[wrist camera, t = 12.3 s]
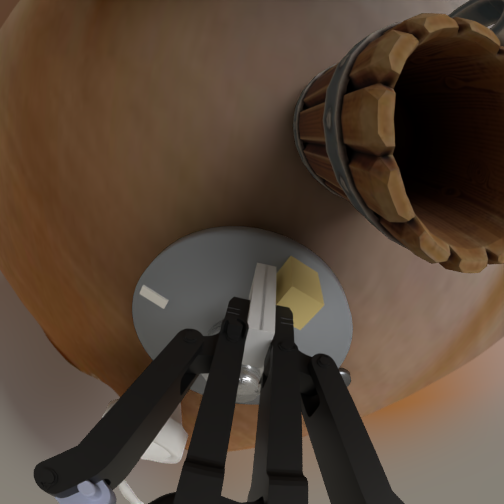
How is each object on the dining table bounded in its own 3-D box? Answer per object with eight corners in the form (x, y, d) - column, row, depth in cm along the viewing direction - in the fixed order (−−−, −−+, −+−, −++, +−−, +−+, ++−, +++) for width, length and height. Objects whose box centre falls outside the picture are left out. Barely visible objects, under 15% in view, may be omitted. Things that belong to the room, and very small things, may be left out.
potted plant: (116, 384, 36) (56, 508, 13) (139, 354, 31) (60, 520, 9) (182, 422, 38) (144, 547, 16) (219, 401, 34) (181, 563, 11)
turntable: (193, 176, 19) (160, 196, 14) (391, 304, 22) (412, 350, 17) (121, 335, 27) (97, 371, 22) (268, 408, 30) (265, 448, 25)
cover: (231, 302, 21) (218, 346, 17) (301, 341, 22) (303, 386, 18) (193, 349, 24) (178, 390, 19) (256, 380, 25) (251, 421, 21)
